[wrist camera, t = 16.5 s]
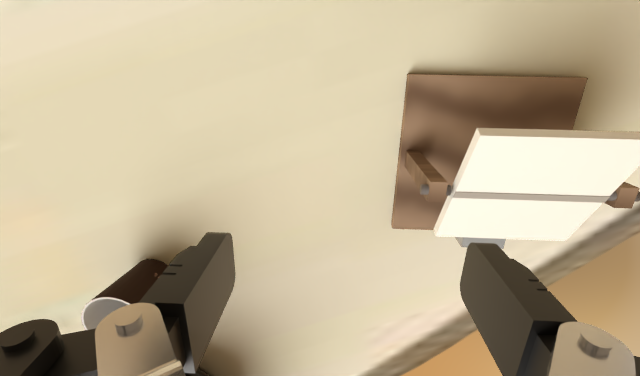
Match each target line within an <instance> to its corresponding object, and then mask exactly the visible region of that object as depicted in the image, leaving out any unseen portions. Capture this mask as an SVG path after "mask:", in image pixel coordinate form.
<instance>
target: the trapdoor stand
mask: <svg viewBox="0 0 640 376" xmlns="http://www.w3.org/2000/svg"><path fill="white" fill-rule="evenodd" d="M586 82H587V78H581V77H531V76H480V75H428V74H407V82H406V92H405V101H404V110H403V120H402V129H401V138H400V148H399V157H398V167H397V176H396V185H395V195H394V204H393V213H392V223H391V225H392V228H393V229H421V230H434V227H435V224H436V222H437V220H438V217H439V215H440V213H441V210H442V208H443V206H444V203H445V201H446V199H447V196H450V195H451V192H452V188H451V187H452V185H453V182H454V180H455V178H456V175H457V173H458V171H459V168H460V166H461V164H462V161H463V159H464V157H465V154H466V152H467V150H468V148H469V145H470V143H471V141H472V138H473V136H474V134H475V131H476V129H477V128H505V129H546V130H572V129H573V126H574V122H575V119H576V116H577V112H578V109H579V105H580V102H581V99H582V95H583V92H584V89H585V85H586ZM634 201H640V192H639V188H638V187H635V186H633V185H631V184H628V183H626V182H623V183H622V184H621V185H620V186H619V187H618V188H617V189H616V190H615V191H614V192H613V193H612V194H611V195H610V198H609V199H608V200H607V201H606V202H605V203H606V204H608V205H610V206H612V207H614V208H632V206H633V204H634Z"/></svg>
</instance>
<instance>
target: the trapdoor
mask: <svg viewBox="0 0 640 376" xmlns="http://www.w3.org/2000/svg"><path fill="white" fill-rule="evenodd" d="M639 166H640V132H627V131H586V130H546V129H505V128H477V129H476V131H475V134H474V136H473V138H472V141H471V143H470V145H469V148H468V150H467V152H466V154H465V157H464V159H463V161H462V164H461V166H460V168H459V171H458V173H457V175H456V178H455V180H454V182H453V185H452V187H451V188H452V192H451V195H450V196H447V199H446V201H445V203H444V206H443V208H442V210H441V213H440V215H439V217H438V220H437V222H436V224H435V227H434V233H435V236H440V237H468V238H496V239H524V240H551V241H566V240H567V239H568V238H569V237H570V236H571V235H572V234H573V233H574V232H575V231H576V230H577V229H578V228H579V227H580V226H581V225H582V224H583V223H584V222H585V221H586V220H587V219H588V218H589V217H590V216H591V215H592V214H593V213H594V212H595V211H596V209H597V208H598V207H599V206H600V205H601V204H602V203H605V202H606V201H607V200H608V199H609V198H610V195H611V194H612V193H613V192H614V191H615V190H616V189H617V188H618V187H619V186H620V185H621V184H622V183H623V182H624V181H625V180H626V179H627V178H628V177H629V176H630V175H631V174H632V173H633V172H634V171H635V170H636V169H637V168H638V167H639Z"/></svg>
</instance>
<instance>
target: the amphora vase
mask: <svg viewBox="0 0 640 376" xmlns="http://www.w3.org/2000/svg"><path fill="white" fill-rule="evenodd" d="M185 376H208V375H207V374H206V373H205V372H203V371H202V370H200V369H199V368H198V369H197V371H196V373H185Z"/></svg>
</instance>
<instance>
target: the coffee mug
mask: <svg viewBox="0 0 640 376" xmlns="http://www.w3.org/2000/svg"><path fill="white" fill-rule="evenodd" d="M167 267H168V265H166V264H165V263H163V262H161V261H158V260H154V259H147V260H144V261H141V262H140V263H139V264H137V265H136V266H135V267H133V268H132V269H131V270H130V271H128V272H127V273H126V274H124V275H123V276H122V277H121V278H119V279H118V280H117V281H115V282H114V283H113V284H112V285H110V286H109V287H108V288H106V289H105V290H104V291H103V292H101V293H100V294H99V295H97V296H96V297H95V298H93V299H92V300H91V301H90V302H88V303H87V304H86V305H85V306H84V308H83V310H82V313H81V320H82V324H83V326H84V328H85V330H90V329H95V328H97V326H98V324H99V323H100V322H101V321H102V320H103V319H104V318H105V317H106V316H107V315H109V314H110V313H111V312H113V311H115V310H117V309H119V308H121V307H124V306H126V305H130V304H135V303H138V302H139V301H140V300H141V299H142V297H143V296H144V295H145V294H146V293H147V291H148V290H149V289H150V288H151V286H152V285H153V284H154V283H155V281H156V280H157V279H158V278H159V277H160V275H163V272H164V270H165V269H166V268H167Z"/></svg>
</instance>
